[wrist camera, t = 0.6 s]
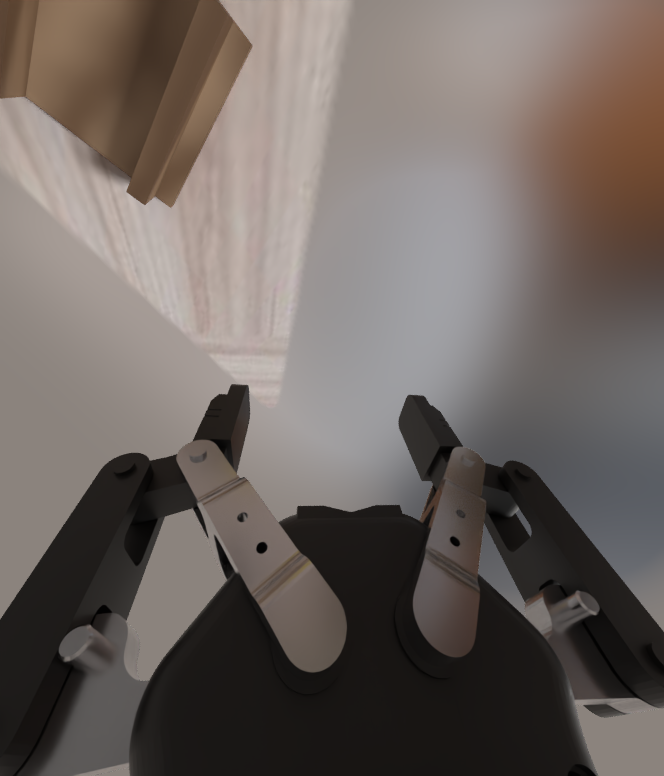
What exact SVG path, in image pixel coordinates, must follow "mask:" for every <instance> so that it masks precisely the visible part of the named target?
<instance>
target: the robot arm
mask: <svg viewBox="0 0 664 776" xmlns="http://www.w3.org/2000/svg"><path fill="white" fill-rule="evenodd" d="M249 419H250V402H249V387H248V385H236V384H232V385H231V386H230V389H229V392H228V394H227V395H225V394H219V395H218V396H216V397H215V398H214V399H213V400H212V401H211V402H210V405H209V407H208V410H207V411H206V413H205V417H204V418H203V420H202V422H201V424H200V426H199V428H198V431H197V433H196V435H195V437H194V439H193V441H192V442H191V443H188V444H187V445H185V446H184V447H182V448H181V449H180V450H179V452H178V454H176V455H173V456H170V457H166V458H161V459H156V460H152V461H149V458H148V457H147V456H145V455H144V454H141V453H129V454H124V455H121V456H119V457H116V458H114V459H113V460H111V461H109V462H108V463H107V464H106V465H105V466H104V467H103V468H102V469H101V470H100V472H99V473H98V475H97V476H96V478H95V479H94V481H93V482H92V484H91V485H90V487H89V488H88V490H87V491H86V493H85V494H84V496H83V497H82V499H81V500H80V502H79V503H78V505H77V506H76V508H75V509H74V511H73V512H72V514H71V515H70V517H69V518H68V520H67V521H66V523H65V524H64V525H63V527H62V529H61V530H60V531H59V533H58V534H57V536H56V537H55V539H54V540H53V542H52V543H51V545H50V546H49V548H48V549H47V551H46V552H45V554H44V555H43V557H42V558H41V560H40V562H39V563H38V564H37V566H36V567H35V569H34V570H33V572H32V573H31V575H30V576H29V578H28V579H27V581H26V582H25V584H24V585H23V587H22V588H21V590H20V591H19V593H18V594H17V595H16V597H15V599H14V600H13V601H12V603H11V605H10V606H9V607H8V609H7V610H6V612H5V613H4V615H3V616H2V618H1V619H0V776H94V775H99V774H102V773H107V772H111V771H116V770H119V769H124V768H128V767H129V770H130V776H598V774H597V772H596V769H595V767H594V764H593V762H592V759H591V756H590V754H589V751H588V749H587V745H586V742H585V739H584V736H583V733H582V729H581V726H580V722H579V719H578V714H577V709H576V705H583V706H585V707H586V708H587V709H588V710H589V711H591V712H592V713H594V714H596V715H598V716H600V717H613V716H619V715H625V714H631V713H637V712H643V711H649V710H655V709H662V708H664V632H663V630H662V629H661V628H660V627H659V625H658V624H657V623H656V622H655V621H654V619H653V618H652V617H651V616H650V614H649V613H648V612H647V610H646V609H645V608H644V607H643V606H642V604H641V603H640V602H639V600H638V599H637V598H636V597H635V596H634V594H633V593H632V592H631V591H630V589H629V588H628V587H627V585H626V584H625V583H624V582H623V580H622V579H621V578H620V577H619V576H618V574H617V573H616V572H615V571H614V569H613V568H612V567H611V566H610V564H609V563H608V562H607V561H606V559H605V558H604V557H603V556H602V554H601V553H600V552H599V551H598V549H597V548H596V547H595V546H594V544H593V543H592V542H591V541H590V539H589V538H588V537H587V536H586V534H585V533H584V532H583V531H582V529H581V528H580V527H579V526H578V524H577V523H576V522H575V521H574V519H573V518H572V517H571V516H570V514H569V513H568V512H567V511H566V510H565V508H564V507H563V506H562V504H561V503H560V502H559V501H558V500H557V498H556V497H555V496H554V495H553V493H552V492H551V491H550V489H549V488H548V487H547V486H546V485H545V483H544V482H543V481H542V480H541V478H540V477H539V476H538V475H537V473H536V472H535V471H533V470H532V469H531V468H530V467H528V466H527V465H525V464H523V463H520V462H517V461H508V462H506V463H505V464H504V466H503V467H498V466H494V465H491V464H487V463H485V462H484V460H483V458H482V457H481V456H480V455H479V454H478V453H476V452H475V451H473V450H471V449H469V448H466V447H463V445H462V444H461V443H460V441H459V439H458V438H457V436H456V435H455V434H454V432H453V430H452V429H451V427H449V424H448V423H447V421H445V418H444V417H443V415H442V414H441V412H440V411H438V410H437V409H436V408H435V407H433V406H430V404H429V403H428V401H427V400H426V398H425V397H424V396H418V395H408V396H407V398H406V401H405V403H404V406H403V409H402V411H401V414H400V417H399V429H400V431H401V433H402V435H403V438H404V440H405V443H406V445H407V447H408V450H409V452H410V454H411V457H412V459H413V461H414V464H415V466H416V468H417V471H418V473H419V475H420V478H421V480H422V481H432V483H433V486H432V487H431V489H430V492H429V495H428V498H427V501H426V503H425V506H424V509H423V512H422V515H421V517H420V520H419V521H418V520H417V519H415V518H413V517H411V516H408V515H405V514H402V511H401V508H400V505H375V506H372V507H368V508H365V509H361V510H358V511H355V512H347V511H343V510H339V509H335V508H331V507H326V506H298V507H297V514H296V515H293V516H290V517H288V518H285V519H283V520H282V521H280V522H278V521H277V520H276V519H275V517H274V516H273V515H272V513H271V512H270V510H269V509H268V507H267V506H266V505H265V503H264V502H263V500H262V499H261V498H260V496H259V495H258V494H257V492H256V491H255V489H254V488H253V487H252V485H251V484H250V482H249V481H248V480H247V479H246V478H245V477H243V478H239V476H238V475H237V470H238V465H239V461H240V457H241V453H242V449H243V445H244V441H245V437H246V433H247V428H248V424H249ZM188 509H192V511H193V513H194V515H195V517H196V519H197V521H198V523H199V525H200V527H201V529H202V531H203V533H204V535H205V537H206V539H207V541H208V543H209V545H210V548H211V550H212V553H213V555H214V558H215V560H216V562H217V565H218V567H219V569H220V571H221V573H222V575H223V577H224V579H225V581H226V582H225V584H224V585H223V586H222V587H221V589H220V590H219V591H218V592H217V593H216V595H215V596H214V597H213V599H212V600H211V601H210V602H209V603H208V604H207V606H206V607H205V608H204V609H203V610H202V612H201V613H200V614H199V615H198V617H197V618H196V619H195V620H194V621H193V623H192V624H191V625H190V626H189V627H188V629H187V630H186V631H185V632H184V633H183V635H182V636H181V637H180V638H179V640H178V641H177V642H176V643H175V644H174V646H173V647H172V648H171V649H170V650H169V652H168V653H167V654H166V656H165V657H164V658H163V660H162V661H161V662H160V664H159V665H158V667H157V669H156V670H155V672H154V673H153V675H152V677H151V679H150V681H140V679H139V677H138V674H137V660H138V655H139V650H140V640H139V636H138V634H137V632H136V631H135V630H134V629H133V628H132V627H131V626H130V624H129V623H128V622H127V621H126V620H127V617H128V615H129V612H130V610H131V607H132V604H133V601H134V599H135V596H136V593H137V591H138V588H139V585H140V583H141V580H142V577H143V574H144V572H145V569H146V566H147V563H148V561H149V558H150V555H151V553H152V550H153V547H154V545H155V542H156V539H157V537H158V534H159V531H160V529H161V526H162V523H163V520H164V517H165V516H168V515H171V514H174V513H178V512H181V511H185V510H188ZM519 509H520V510H521V512H522V513H523V515H524V516H525V518H526V519H527V521H528V522H529V524H530V526H531V530H532V535H531V537H530V536H529V534H528V533H527V531H526V529H525V528H524V526H523V525H522V523H521V522H520V520H519V518H518V517H517V515H516V514H515V513H516V512H517V511H518V510H519ZM484 523H485V525H486V527H487V529H488V531H489V533H490V535H491V537H492V538H493V541H494V543H495V544H496V547H497V549H498V551H499V552H500V555H501V556H502V558H503V560H504V562H505V564H506V566H507V568H508V570H509V572H510V574H511V576H512V578H513V580H514V582H515V584H516V586H517V588H518V590H519V592H520V593H521V595H522V597H523V599H524V601H525V613H526V617H527V619H526V618H525V617H524V616H523V615H522V614H521V613H520V612H519V611H518V610H517V609H516V608H515V607H513V606H512V605H511V604H510V603H509V602H508V601H507V600H506V599H505V598H504V597H503V596H502V595H501V594H499V593H498V592H497V591H496V590H495V589H494V588H493V587H492V586H491V585H490V584H489V583H488V582H486V581H485V580H484V579H483V578H482V577H481V576H480V575H479V574H478V569H479V561H480V553H481V545H482V536H483V528H484Z"/></svg>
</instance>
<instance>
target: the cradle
mask: <svg viewBox="0 0 664 776" xmlns="http://www.w3.org/2000/svg"><path fill="white" fill-rule="evenodd" d="M251 48H252V44H251V43H250V42H249V40H248V39H247V38H246V36H245V35H244V34H243V32H242V31H241V30H240V28H239V27H238V26H237V24H236V23H235V22H234V20H233V19H232V17H231V16H230V15H229V13H228V12H227V11H226V9H225V8H224V7H223V5H222V4H221V3H220V1H219V0H0V98H12V97H25V96H26V97H27V98H28V99H30V100H31V101H32V102H34V103H35V104H36V105H37V106H39V107H40V108H41V109H43V110H44V111H45V112H47V113H48V114H49V115H50V116H52V117H53V118H54V119H56V120H57V121H58V122H60V123H61V124H62V125H63V126H65V127H66V128H67V129H69V130H70V131H71V132H73V133H74V134H75V135H76V136H78V137H79V138H80V139H82V140H83V141H84V142H86V143H87V144H88V145H89V146H91V147H92V148H93V149H95V150H96V151H97V152H99V153H100V154H101V155H102V156H104V157H105V158H106V159H108V160H109V161H110V162H112V163H113V164H114V165H116V166H117V167H118V168H119V169H121V170H122V171H123V172H125V173H126V174H127V175H129V176H130V177H131V181H130V183H129V186H128V189H127V191H126V192H127V193H129V194H130V195H131V196H133V197H134V198H136V199H137V200H138V201H140V202H141V203H142V204H144V205H146V204H147V203H148V202H149V201H150V200H151V199H152V198H153V197H155V196H156V197H157V198H158V199H160V200H161V201H162V202H164V203H165V204H166V205H168V206H169V207H170V208H171V207H172V206H173V205H174V203H175V201H176V199H177V197H178V195H179V193H180V191H181V189H182V187H183V185H184V183H185V181H186V179H187V177H188V175H189V173H190V171H191V169H192V167H193V165H194V163H195V161H196V159H197V157H198V155H199V153H200V151H201V149H202V147H203V145H204V143H205V141H206V139H207V137H208V135H209V133H210V131H211V129H212V127H213V125H214V123H215V121H216V119H217V117H218V115H219V113H220V111H221V109H222V107H223V105H224V103H225V101H226V99H227V97H228V95H229V93H230V91H231V88H232V86H233V84H234V82H235V80H236V78H237V76H238V74H239V72H240V70H241V68H242V66H243V64H244V62H245V60H246V58H247V56H248V54H249V52H250V50H251Z"/></svg>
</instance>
